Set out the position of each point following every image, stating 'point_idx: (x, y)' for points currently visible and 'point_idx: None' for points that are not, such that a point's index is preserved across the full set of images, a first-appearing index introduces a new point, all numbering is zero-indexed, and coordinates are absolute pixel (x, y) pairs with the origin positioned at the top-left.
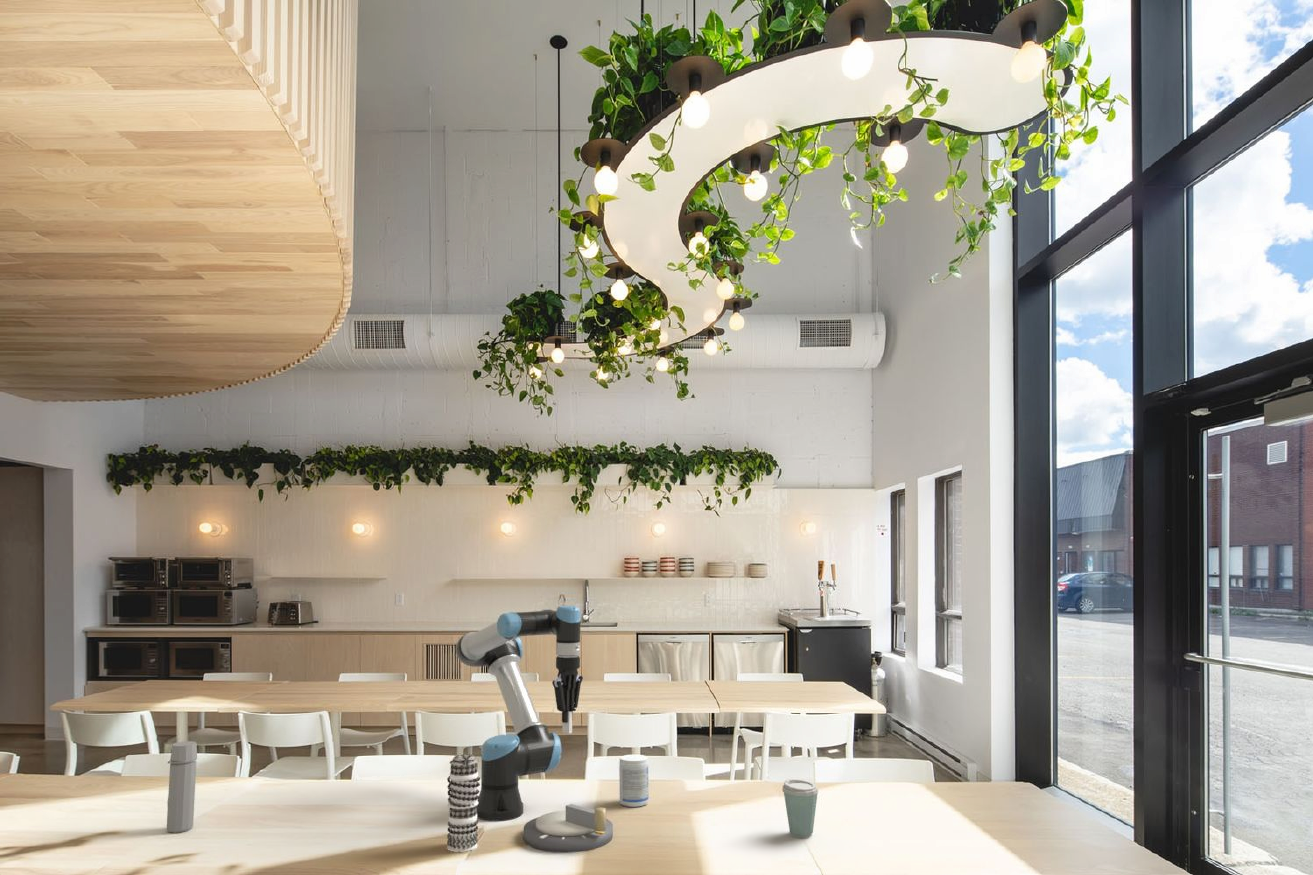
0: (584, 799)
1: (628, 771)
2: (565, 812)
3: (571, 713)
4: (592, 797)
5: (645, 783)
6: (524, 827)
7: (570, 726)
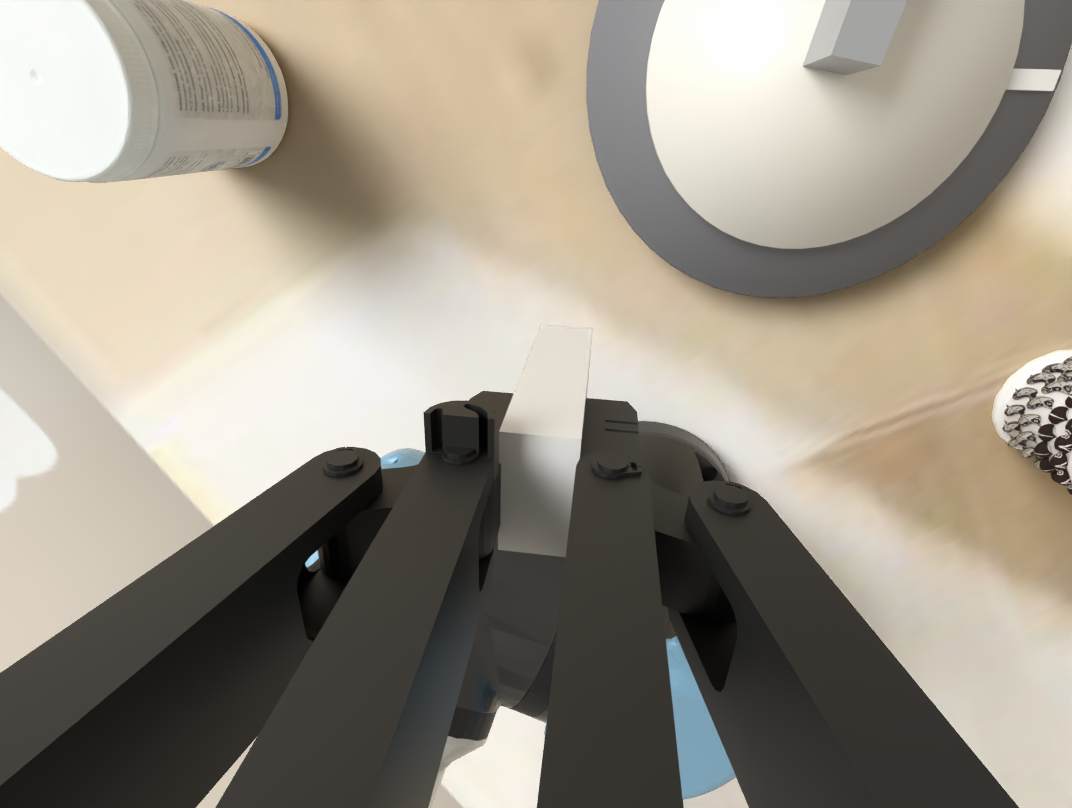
0: (328, 325)
1: (174, 62)
2: (704, 171)
3: (523, 419)
4: (288, 311)
5: None
6: (899, 261)
7: (563, 351)
